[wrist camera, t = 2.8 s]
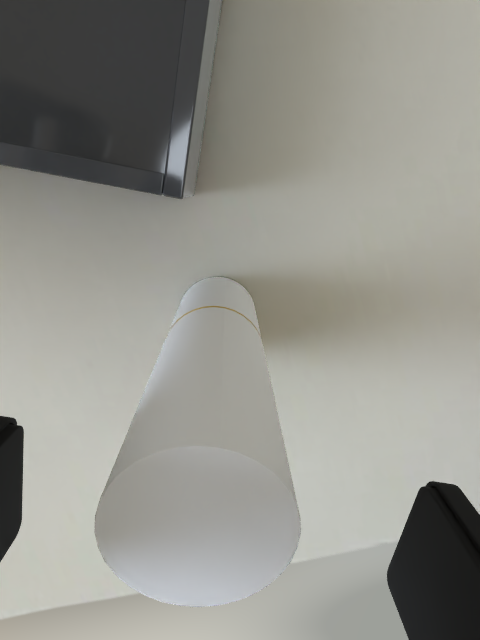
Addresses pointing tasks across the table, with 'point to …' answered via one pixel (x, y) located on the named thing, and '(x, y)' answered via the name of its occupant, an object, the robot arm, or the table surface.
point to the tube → (203, 464)
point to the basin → (107, 89)
